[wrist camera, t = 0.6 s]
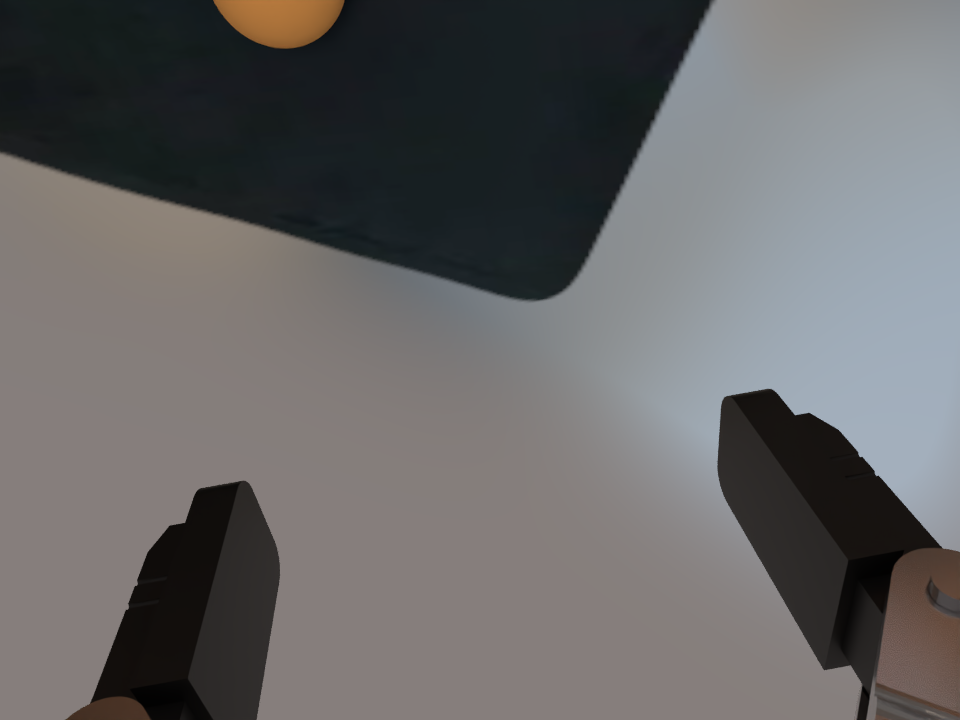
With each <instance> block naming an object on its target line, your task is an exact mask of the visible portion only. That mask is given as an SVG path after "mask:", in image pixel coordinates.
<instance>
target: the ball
mask: <svg viewBox="0 0 960 720" xmlns="http://www.w3.org/2000/svg"><path fill="white" fill-rule="evenodd" d="M213 1H214V3H215V4H216V6H217V8H218V9H219V11H220V12H221V14H222V15H223V16H224V17H225V19H226V20H227V21H228V22H229V23H230V24H231V25H232V26H233V27H234V28H235V29H236V30H237V31H239V32H240V33H241V34H243V35H244V36H246V37H247V38H249V39H251V40H253V41H255V42H257V43H259V44H262V45H265V46H269V47H274V48H285V49H286V48H296V47H300V46H304V45H307V44H309V43H311V42H313V41H315V40H317V39H318V38H320V37H321V36H322V35H324V34H325V33H326V32H327V31H328V30H329V29H330V28H331V27H332V25H333V24H334V22H335V21H336V20H337V18H338V16H339V14H340V12H341V10H342V7H343V4H344V1H345V0H213Z"/></svg>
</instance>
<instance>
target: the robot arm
mask: <svg viewBox="0 0 960 720" xmlns="http://www.w3.org/2000/svg"><path fill="white" fill-rule="evenodd" d="M718 476H719V481H720V486H721V489H722V492H723V495H724V497H725V499H726V501H727V503H728V505H729V506H730V508H731V510H732V512H733V514H734V515H735V517H736V519H737V520H738V522H739V524H740V525H741V527H742V529H743V531H744V532H745V534H746V536H747V538H748V540H749V541H750V543H751V544H752V546H753V548H754V550H755V552H756V553H757V555H758V557H759V559H760V560H761V562H762V564H763V565H764V567H765V569H766V571H767V572H768V574H769V576H770V577H771V579H772V581H773V583H774V585H775V586H776V588H777V590H778V591H779V593H780V595H781V597H782V598H783V600H784V602H785V604H786V605H787V607H788V609H789V611H790V612H791V614H792V616H793V617H794V619H795V621H796V623H797V624H798V626H799V628H800V629H801V631H802V633H803V635H804V636H805V638H806V640H807V642H808V643H809V645H810V647H811V648H812V650H813V652H814V654H815V655H816V657H817V659H818V661H819V662H820V664H821V666H822V668H823V669H824V670H827V669H833V668H838V667H844V666H849V665H851V666H852V668H853V670H854V671H855V673H856V675H857V676H858V678H859V679H860V681H861V683H862V684H861V688H860V691H859V695H858V701H857V707H856V713H855V719H854V720H960V552H958V551H953V550H949V549H943V548H942V547H941V546H940V545H939V544H938V543H937V542H936V540H935V539H934V538H933V537H932V536H931V535H930V534H929V533H928V531H926V529H925V528H924V527H923V526H922V525H921V523H920V522H919V521H918V520H917V519H916V518H915V517H914V515H913V514H912V513H911V512H910V511H909V510H908V509H907V507H906V506H905V505H904V504H903V503H902V502H901V501H900V499H899V498H898V497H897V496H896V495H895V494H894V493H893V491H892V490H891V489H890V488H889V487H888V486H887V485H886V483H885V482H884V481H883V480H882V479H881V478H880V477H879V476H876V475H875V471H874V470H873V469H872V467H871V466H870V465H869V464H868V463H867V462H866V461H865V459H864V458H863V457H859V455H858V452H857V451H856V449H855V448H854V447H853V446H852V445H851V443H850V442H849V441H848V440H847V439H846V438H845V437H844V436H843V435H842V433H841V432H840V431H839V430H838V429H836V428H834V427H832V426H831V425H829V424H827V423H826V422H824V421H822V420H821V419H819V418H817V417H816V416H814V415H812V414H810V413H806V414H801V415H794V414H793V412H792V411H791V410H790V409H789V407H788V406H787V405H786V404H785V403H784V401H783V400H782V399H781V398H780V396H779V395H778V394H777V393H776V392H775V391H773V390H772V389H765V390H759V391H753V392H748V393H742V394H736V395H731V396H726V397H725V398H724V399H723V401H722V405H721V419H720V433H719V449H718ZM279 578H280V564H279V556H278V552H277V547H276V544H275V541H274V539H273V536H272V534H271V532H270V529H269V527H268V525H267V522H266V520H265V518H264V515H263V513H262V511H261V508H260V506H259V504H258V501H257V499H256V497H255V494H254V492H253V490H252V488H251V486H250V484H249V483H248V482H246V481H239V482H234V483H228V484H222V485H217V486H211V487H206V488H201V489H199V490H198V491H197V492H196V494H195V496H194V498H193V501H192V504H191V507H190V510H189V513H188V516H187V519H186V522H185V523H182V524H176V525H171V526H169V527H168V528H167V530H166V531H165V532H164V533H163V534H162V536H161V537H160V538H159V539H158V541H157V542H156V543H155V544H154V545H153V547H152V548H151V549H150V550H149V551H148V553H147V556H146V558H145V561H144V564H143V566H142V569H141V572H140V574H139V577H138V579H137V581H138V585H137V586H135V587H134V590H133V593H132V595H131V598H130V601H129V603H128V604H129V609H128V610H126V611H125V614H124V617H123V619H122V622H121V624H120V627H119V630H118V632H117V635H116V638H115V640H114V643H113V645H112V648H111V651H110V653H109V656H108V659H107V661H106V664H105V667H104V669H103V672H102V674H101V677H100V680H99V682H98V685H97V688H96V691H95V693H94V696H93V698H92V700H91V703H90V704H89V705H87V706H85V707H83V708H81V709H80V710H78V711H76V712H75V713H73V714H72V715H71V716H70V717H68V718H67V719H66V720H256V719H257V713H258V707H259V701H260V695H261V689H262V683H263V677H264V670H265V664H266V659H267V652H268V646H269V640H270V634H271V628H272V622H273V616H274V610H275V604H276V598H277V592H278V586H279Z"/></svg>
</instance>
